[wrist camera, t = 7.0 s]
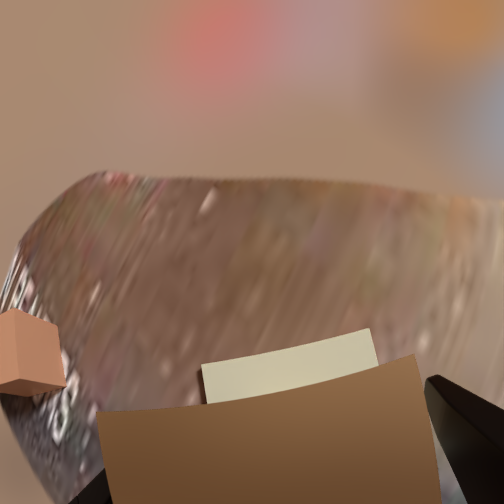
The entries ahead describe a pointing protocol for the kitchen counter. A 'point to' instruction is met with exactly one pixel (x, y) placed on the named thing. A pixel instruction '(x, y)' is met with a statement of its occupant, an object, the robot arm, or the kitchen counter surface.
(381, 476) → the brown block
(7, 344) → the terracotta block
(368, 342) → the pad
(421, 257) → the kitchen counter surface
